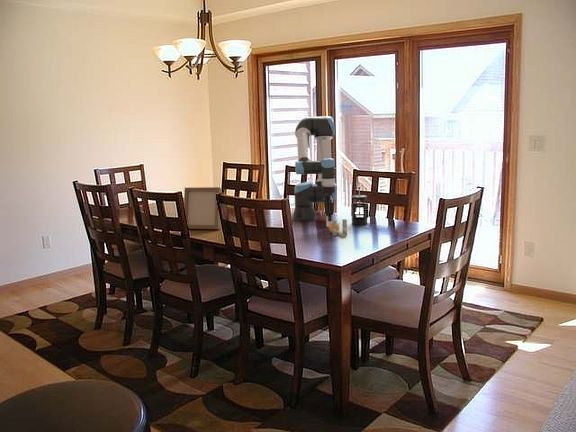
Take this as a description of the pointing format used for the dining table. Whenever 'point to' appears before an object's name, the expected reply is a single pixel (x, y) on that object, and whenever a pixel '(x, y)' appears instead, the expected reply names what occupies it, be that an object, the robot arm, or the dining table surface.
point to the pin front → (341, 234)
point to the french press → (356, 205)
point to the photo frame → (202, 207)
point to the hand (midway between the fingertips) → (329, 226)
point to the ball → (331, 227)
